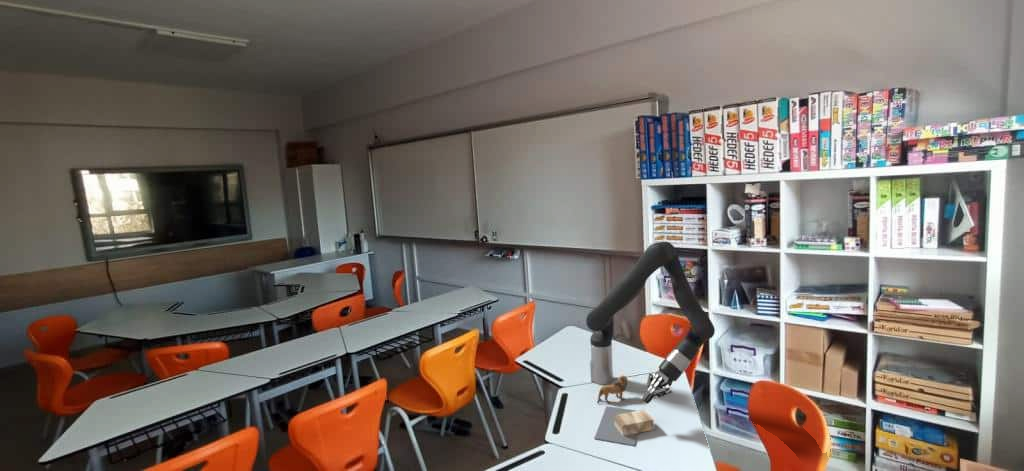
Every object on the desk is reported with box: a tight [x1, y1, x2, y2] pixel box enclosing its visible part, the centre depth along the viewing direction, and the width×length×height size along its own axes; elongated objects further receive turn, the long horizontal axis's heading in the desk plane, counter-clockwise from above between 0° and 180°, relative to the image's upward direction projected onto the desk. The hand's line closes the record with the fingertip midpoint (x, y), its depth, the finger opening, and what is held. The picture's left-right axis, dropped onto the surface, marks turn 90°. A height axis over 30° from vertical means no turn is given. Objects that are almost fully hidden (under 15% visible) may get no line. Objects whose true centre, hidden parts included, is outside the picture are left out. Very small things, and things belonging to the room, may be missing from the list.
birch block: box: [614, 409, 655, 436], centre depth 168 cm, size 4×7×12 cm
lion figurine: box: [596, 375, 629, 404], centre depth 188 cm, size 15×5×9 cm, turn 113°
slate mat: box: [593, 405, 639, 447], centre depth 170 cm, size 14×22×1 cm, turn 157°
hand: (644, 401), depth 167 cm, fingers closed
